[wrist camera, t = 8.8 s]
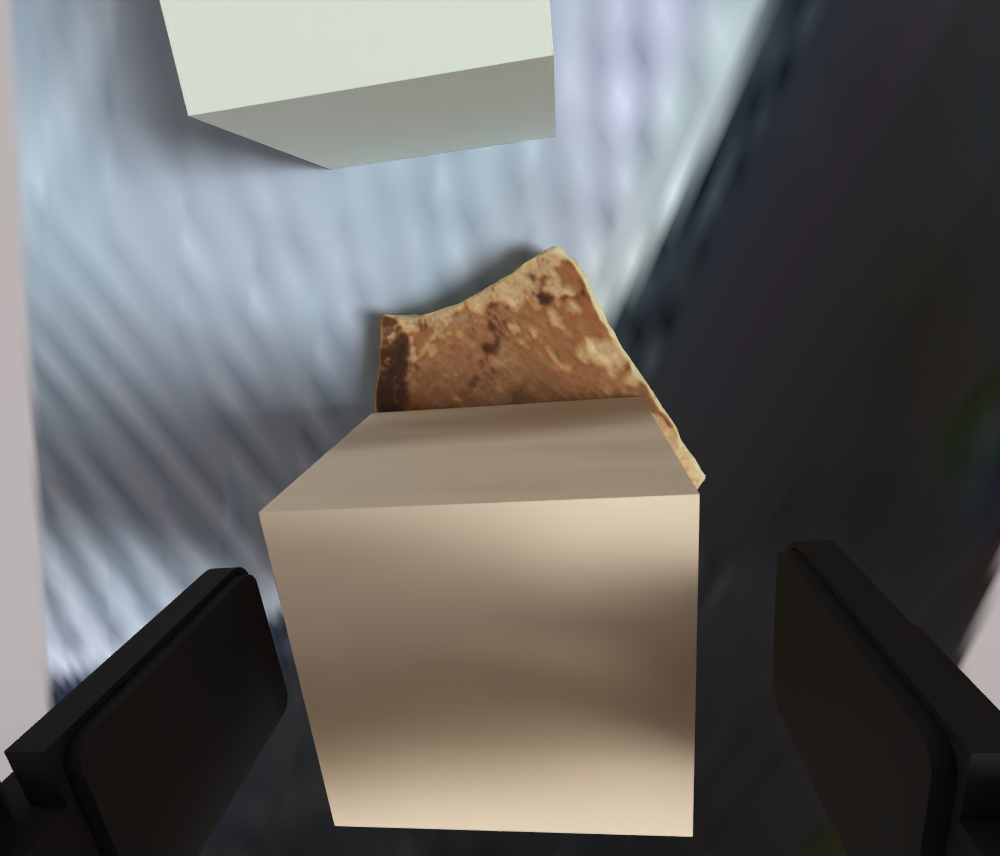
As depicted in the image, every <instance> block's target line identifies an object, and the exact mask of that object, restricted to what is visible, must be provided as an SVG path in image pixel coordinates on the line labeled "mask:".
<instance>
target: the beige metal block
mask: <svg viewBox="0 0 1000 856" xmlns="http://www.w3.org/2000/svg"><path fill="white" fill-rule="evenodd" d="M699 496H700V494H699V493H698V491H697V489H696V488H695V486H694V484H693V483H692V481H691V479H690V478H689V476H688V474H687V473H686V471H685V469H684V467H683V466H682V464H681V462H680V461H679V459H678V457H677V456H676V454H675V452H674V451H673V449H672V447H671V446H670V444H669V442H668V441H667V439H666V437H665V436H664V434H663V432H662V431H661V429H660V427H659V426H658V424H657V422H656V421H655V419H654V417H653V416H652V414H651V412H650V411H649V409H648V407H647V406H646V404H645V402H644V401H643V399H642V397H641V396H640V397H624V398H608V399H592V400H576V401H560V402H544V403H527V404H511V405H495V406H479V407H463V408H447V409H431V410H415V411H399V412H383V413H371V414H370V415H369V416H368V417H367V418H365V419H364V420H363V421H362V422H361V423H360V424H359V425H357V426H356V427H355V428H354V429H353V430H352V431H351V432H349V433H348V434H347V435H346V436H345V437H344V438H343V439H341V440H340V441H339V442H338V443H337V444H336V445H335V446H333V447H332V448H331V449H330V450H329V451H328V452H327V453H326V454H324V455H323V456H322V457H321V458H320V459H319V460H318V461H316V462H315V463H314V464H313V465H312V466H311V467H310V468H308V469H307V470H306V471H305V472H304V473H303V474H302V475H300V476H299V477H298V478H297V479H296V480H295V481H294V482H292V483H291V484H290V485H289V486H288V487H287V488H286V489H284V490H283V491H282V492H281V493H280V494H279V495H278V496H277V497H275V498H274V499H273V500H272V501H271V502H270V503H269V504H267V505H266V506H265V507H264V508H263V509H262V510H261V511H259V512H258V513H259V517H260V522H261V526H262V530H263V534H264V538H265V542H266V546H267V550H268V554H269V558H270V562H271V567H272V571H273V575H274V579H275V583H276V587H277V591H278V595H279V599H280V603H281V607H282V612H283V616H284V620H285V624H286V628H287V632H288V636H289V640H290V644H291V648H292V652H293V656H294V661H295V665H296V669H297V673H298V677H299V681H300V685H301V689H302V693H303V697H304V701H305V706H306V710H307V714H308V718H309V722H310V726H311V730H312V734H313V738H314V742H315V746H316V751H317V755H318V759H319V763H320V767H321V771H322V775H323V779H324V783H325V787H326V791H327V796H328V800H329V804H330V808H331V812H332V816H333V820H334V824H335V826H358V827H391V828H424V829H458V830H491V831H524V832H557V833H591V834H624V835H657V836H690V837H693V791H694V742H695V693H696V644H697V594H698V545H699Z"/></svg>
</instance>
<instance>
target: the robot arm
mask: <svg viewBox="0 0 1000 856" xmlns="http://www.w3.org/2000/svg"><path fill="white" fill-rule="evenodd" d="M772 686H773V695H774V699H775V703H776V706H777V709H778V711H779V713H780V715H781V717H782V719H783V722H784V724H785V726H786V728H787V730H788V732H789V734H790V736H791V738H792V740H793V742H794V744H795V747H796V749H797V751H798V753H799V755H800V757H801V759H802V761H803V763H804V765H805V767H806V769H807V772H808V774H809V776H810V778H811V780H812V782H813V784H814V786H815V788H816V790H817V792H818V794H819V797H820V799H821V801H822V803H823V805H824V807H825V809H826V811H827V813H828V815H829V817H830V819H831V822H832V824H833V826H834V828H835V830H836V832H837V834H838V836H839V838H840V840H841V842H842V844H843V847H844V849H845V851H846V853H847V855H848V856H1000V710H999V709H997V707H996V706H994V704H993V703H992V702H991V701H990V700H989V699H988V698H987V697H986V696H985V695H984V694H983V693H982V692H981V691H980V690H979V689H978V688H977V687H976V686H975V685H974V684H973V683H972V682H971V680H970V679H969V678H968V677H967V676H966V675H965V674H964V673H963V672H962V671H961V670H960V669H959V668H958V667H957V666H956V665H955V664H954V663H953V662H952V661H951V660H950V659H949V658H948V657H947V656H946V655H945V654H944V653H943V651H942V650H941V649H940V648H939V647H938V646H937V645H936V644H935V643H934V642H933V641H932V640H931V639H930V638H929V637H928V636H927V635H926V634H925V633H924V632H923V631H922V630H921V629H919V628H918V627H917V626H916V625H914V624H912V623H911V622H910V621H909V620H908V619H907V618H906V617H905V616H904V615H903V614H902V613H901V612H900V611H899V610H898V609H897V607H896V606H895V605H894V604H893V603H892V602H891V601H890V600H889V599H888V598H887V597H886V596H885V595H884V594H883V593H882V592H881V591H880V590H879V589H878V588H877V587H876V586H875V584H874V583H873V582H872V581H871V580H870V579H869V578H868V577H867V576H866V575H865V574H864V573H863V572H862V571H861V570H860V569H859V568H858V567H857V566H856V565H855V564H854V563H853V561H852V560H851V559H850V558H849V557H848V556H847V555H846V554H845V553H844V552H843V551H842V550H841V549H840V548H839V547H838V546H837V545H836V544H835V543H834V542H833V541H831V540H813V541H792V542H791V543H790V545H789V547H788V551H780V552H779V553H778V557H777V575H776V601H775V628H774V654H773V681H772ZM287 696H288V694H287V689H286V685H285V682H284V678H283V675H282V671H281V667H280V664H279V660H278V657H277V653H276V649H275V646H274V642H273V639H272V635H271V631H270V628H269V624H268V620H267V617H266V613H265V610H264V606H263V602H262V599H261V595H260V592H259V588H258V584H257V581H256V579H255V578H254V577H253V576H252V575H249V574H248V572H247V571H246V570H245V569H243V568H241V567H236V568H215V569H209V570H208V571H206V572H205V573H203V574H202V575H201V576H200V577H199V578H198V579H197V580H196V581H195V582H193V583H192V584H191V585H190V586H189V587H188V588H187V589H186V590H184V591H183V592H182V593H181V594H180V595H179V596H178V597H177V598H175V599H174V600H173V601H172V602H171V603H170V604H169V605H168V606H167V607H165V608H164V609H163V610H162V611H161V612H160V613H159V614H158V615H156V616H155V617H154V618H153V619H152V620H151V621H150V622H149V623H147V624H146V625H145V626H144V627H143V628H142V629H141V630H140V631H139V632H137V633H136V634H135V635H134V636H133V637H132V638H131V639H130V640H128V641H127V642H126V643H125V644H124V645H123V646H122V647H121V648H119V649H118V650H117V651H116V652H115V653H114V654H113V655H112V656H111V657H109V658H108V659H107V660H106V661H105V662H104V663H103V664H102V665H100V666H99V667H98V668H97V669H96V670H95V671H94V672H93V673H91V674H90V675H89V676H88V677H87V678H86V679H85V680H84V681H82V682H81V683H80V684H79V685H78V686H77V687H76V688H75V689H74V690H72V691H71V692H70V693H69V694H68V695H67V696H66V697H65V698H63V699H62V700H61V701H60V702H59V703H58V704H57V705H56V706H54V707H53V708H52V709H51V710H50V711H49V712H48V713H47V714H46V715H44V716H43V717H42V718H41V719H40V720H39V721H38V722H37V723H35V724H34V725H33V726H32V727H31V728H30V729H29V730H28V731H26V732H25V733H24V734H23V735H22V736H21V737H20V738H19V739H18V740H16V741H15V742H14V743H13V744H12V745H11V746H10V747H9V748H7V749H6V750H5V752H4V753H5V755H6V757H7V759H8V761H9V763H10V765H11V767H12V769H13V772H12V773H11V774H10V775H9V776H8V777H7V778H6V779H5V780H4V781H3V782H2V783H1V782H0V856H198V855H199V853H200V852H201V850H202V848H203V847H204V845H205V843H206V842H207V840H208V839H209V837H210V835H211V834H212V832H213V830H214V829H215V827H216V825H217V824H218V822H219V820H220V819H221V817H222V815H223V814H224V812H225V810H226V809H227V807H228V805H229V804H230V802H231V800H232V799H233V797H234V795H235V794H236V792H237V790H238V789H239V787H240V785H241V784H242V782H243V780H244V779H245V777H246V775H247V774H248V772H249V770H250V769H251V767H252V765H253V764H254V762H255V760H256V759H257V757H258V756H259V754H260V752H261V751H262V749H263V747H264V746H265V744H266V742H267V741H268V739H269V737H270V736H271V734H272V732H273V731H274V729H275V727H276V726H277V724H278V722H279V721H280V719H281V717H282V716H283V714H284V712H285V709H286V706H287Z"/></svg>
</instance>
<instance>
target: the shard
mask: <svg viewBox="0 0 1000 856" xmlns="http://www.w3.org/2000/svg"><path fill="white" fill-rule="evenodd" d="M379 330H380V335H381V346H380V349H379V365H380V367H379V373H378V377H377V381H376V393H375V412H376V413H383V412H399V411H415V410H431V409H447V408H463V407H479V406H495V405H511V404H527V403H544V402H560V401H576V400H592V399H608V398H624V397H640V396H641V397H642V399H643V401H644V402H645V404H646V406H647V407H648V409H649V411H650V412H651V414H652V416H653V417H654V419H655V421H656V422H657V424H658V426H659V427H660V429H661V431H662V432H663V434H664V436H665V437H666V439H667V441H668V442H669V444H670V446H671V447H672V449H673V451H674V452H675V454H676V456H677V457H678V459H679V461H680V462H681V464H682V466H683V467H684V469H685V471H686V473H687V474H688V476H689V478H690V479H691V481H692V483H693V484H694V486H695V488H696V489H698V488H699V486H700V485H701V483H702V482H703V481H704V479H705V475H704V473H703V472H702V471H701V469H700V467H699V465H698V463H697V462H696V460H695V458H694V457H693V456H692V454H691V453H690V452H689V451H688V450H687V448H686V447H685V445H684V444H683V443H682V441H681V439H680V436H679V433H678V431H677V428H676V426H675V425H674V423H673V422H672V420H671V419H670V417H669V416H668V414H667V413H666V412H665V410H664V409H663V408H662V406H661V404H660V403H659V401H658V399H657V397H656V396H655V394H654V393H653V392H652V390H651V389H650V387H649V386H648V384H647V383H646V381H645V380H644V378H643V377H642V375H641V374H640V372H639V371H638V369H637V368H636V367H635V365H634V364H633V362H632V361H631V359H630V358H629V356H628V355H627V353H626V352H625V351H624V350H623V349H622V347H621V345H620V344H619V341H618V339H617V337H616V335H615V333H614V331H613V330H612V329H611V327H610V326H609V325H608V322H607V320H606V317H605V315H604V313H603V310H602V308H601V307H600V305H599V303H598V302H597V300H596V298H595V297H594V295H593V293H592V291H591V289H590V287H589V283H588V280H587V277H586V275H585V274H584V272H583V271H582V270H581V268H580V267H579V265H578V264H577V262H576V261H575V260H574V258H572V257H571V256H569V255H568V254H567V253H566V251H565V250H564V249H563V248H562V247H551V248H549V249H547V250H545V251H543V252H542V253H540V254H538V255H537V256H536V257H534V258H532V259H530V260H528V261H526V262H525V263H524V264H523V265H522V266H520V267H519V268H517V269H516V270H515V271H514V272H513V273H512V274H510V275H508V276H506V277H504V278H502V279H500V280H499V281H498V282H496V283H494V284H492V285H490V286H488V287H486V288H485V289H483V290H482V291H480V292H479V293H477V294H475V295H474V296H472V297H470V298H468V299H466V300H465V301H463V302H461V303H459V304H456V305H452V306H448V307H445V308H443V309H440V310H438V311H435V312H432V313H427V314H423V315H419V314H412V315H388V314H384V315H382V318H381V322H380V328H379Z"/></svg>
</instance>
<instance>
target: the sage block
mask: <svg viewBox="0 0 1000 856" xmlns="http://www.w3.org/2000/svg"><path fill="white" fill-rule="evenodd" d="M160 4H161V8H162V12H163V16H164V20H165V24H166V28H167V32H168V36H169V40H170V45H171V49H172V53H173V57H174V61H175V65H176V69H177V73H178V77H179V81H180V85H181V89H182V93H183V97H184V101H185V105H186V109H187V113H188V116H190V117H192V118H195V119H198V120H200V121H203V122H206V123H208V124H211V125H214V126H216V127H219V128H222V129H224V130H227V131H230V132H232V133H235V134H238V135H240V136H243V137H246V138H248V139H251V140H253V141H256V142H259V143H261V144H264V145H267V146H269V147H272V148H275V149H277V150H280V151H283V152H285V153H288V154H291V155H293V156H296V157H299V158H301V159H304V160H307V161H309V162H312V163H315V164H317V165H320V166H322V167H325V168H328V169H330V170H331V169H338V168H345V167H352V166H358V165H365V164H372V163H379V162H386V161H392V160H399V159H406V158H413V157H420V156H426V155H433V154H440V153H447V152H454V151H460V150H467V149H474V148H481V147H488V146H494V145H501V144H508V143H515V142H521V141H528V140H535V139H542V138H549V137H555V136H556V128H555V93H554V57H553V42H552V29H551V15H550V1H549V0H160Z"/></svg>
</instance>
